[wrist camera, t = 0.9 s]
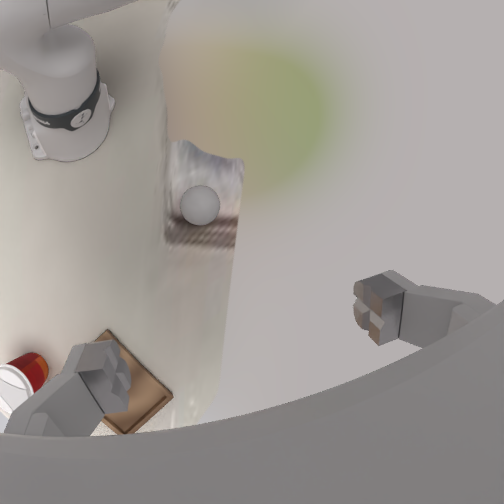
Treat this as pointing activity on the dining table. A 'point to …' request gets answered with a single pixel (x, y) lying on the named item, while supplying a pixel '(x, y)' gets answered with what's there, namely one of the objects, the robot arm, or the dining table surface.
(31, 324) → the dining table surface
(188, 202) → the lightbulb
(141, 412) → the tray
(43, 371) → the paper cup
